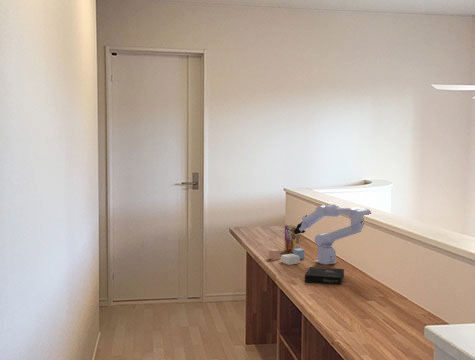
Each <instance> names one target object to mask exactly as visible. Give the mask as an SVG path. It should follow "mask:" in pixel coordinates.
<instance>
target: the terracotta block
mask: <svg viewBox="0 0 475 360" xmlns="http://www.w3.org/2000/svg"><path fill="white" fill-rule="evenodd" d="M268 259H269V260H274V261H276V260H281V249H277V248H271V249H268Z"/></svg>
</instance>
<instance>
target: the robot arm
mask: <svg viewBox="0 0 475 360" xmlns="http://www.w3.org/2000/svg"><path fill="white" fill-rule="evenodd" d="M369 214H372V210H370V209H368V208H362V207H340V206H339V205H336V204H331V205H329V204H325V205H319V206H317V207H316V208H315V210H313V211H312V212H311V213H310V214H308V215H307V214H305V215H303V216H302V217H301V220H302V221H301V222H300V223H298V224H297V225H296V226H297V227H296V229H295V230H294V231H293V232H294V233H295V234H298V233H300V234H304V233H306V229H309V228H311V227H312V226H313V225H315V224H317V223H318V222H319V221H320V220H322V219H324V217H333V218H334V217H336V218H337V217H339V216H340V215H345V216H346V215H347V216H348V217H349V219H350V225H348V226H345V227H343V228H339V229H337V230H334V231H331V232H330V231H329V232H326V233H321V234H319V233H317V234H315V236H314V242H315V244H316V246H317V260H314V262H315V263H318V264H320V265H325V266H326V265H333V264H337V261H336V250H335V248H333V247H332V246H333V244H334V243H335V242H336V241H338V240H340V239H344V238H347V237H350V236H353V235H356V234H360V233H361V232H362V231H363V230H362V228H363V226H364V223H363V224H362V222H363V221H364V218H363V216H364V215H369ZM361 230H362V231H361Z"/></svg>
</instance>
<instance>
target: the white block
mask: <svg viewBox="0 0 475 360" xmlns="http://www.w3.org/2000/svg"><path fill="white" fill-rule="evenodd" d="M280 261H281V262H280V263H282V262H283V263H282V264H285V265H288V266H289V265H296V264H301V263H300V261H301V259H300V256H298V255H294V254H293V253H288V254H280Z"/></svg>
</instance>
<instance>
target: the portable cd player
mask: <svg viewBox="0 0 475 360" xmlns="http://www.w3.org/2000/svg"><path fill="white" fill-rule="evenodd" d="M344 276H345V269H344V268H334V267H333V268H331V267H318V266H316V267H315V266H310V267H309V268H308V269H307V271H306V273H305V274H304V283H306V284H307V283H308V284H321V285H333V286H334V285H335V286H341V285H342V282H343V279H344Z"/></svg>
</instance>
